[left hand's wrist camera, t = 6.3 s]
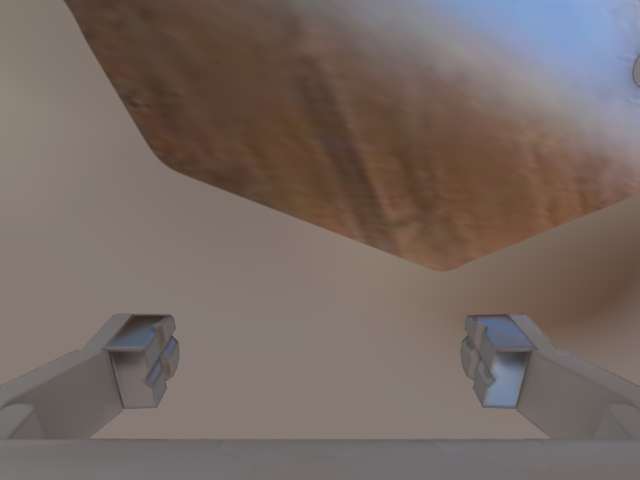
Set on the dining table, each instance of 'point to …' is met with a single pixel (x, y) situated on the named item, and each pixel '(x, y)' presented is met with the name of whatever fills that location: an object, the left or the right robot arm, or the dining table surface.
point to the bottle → (637, 72)
